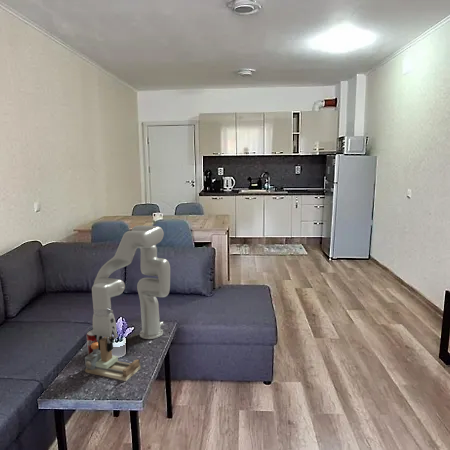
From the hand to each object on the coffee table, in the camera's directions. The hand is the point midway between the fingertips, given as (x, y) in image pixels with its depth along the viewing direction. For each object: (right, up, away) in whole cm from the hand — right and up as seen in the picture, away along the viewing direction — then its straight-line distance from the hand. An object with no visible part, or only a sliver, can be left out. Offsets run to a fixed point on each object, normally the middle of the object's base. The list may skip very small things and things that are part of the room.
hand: (105, 349), depth 180 cm
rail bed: (+3, -10, 0) cm, 10 cm away
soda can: (-9, -8, +15) cm, 19 cm away
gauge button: (-5, -3, +3) cm, 7 cm away
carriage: (0, -7, +1) cm, 7 cm away
